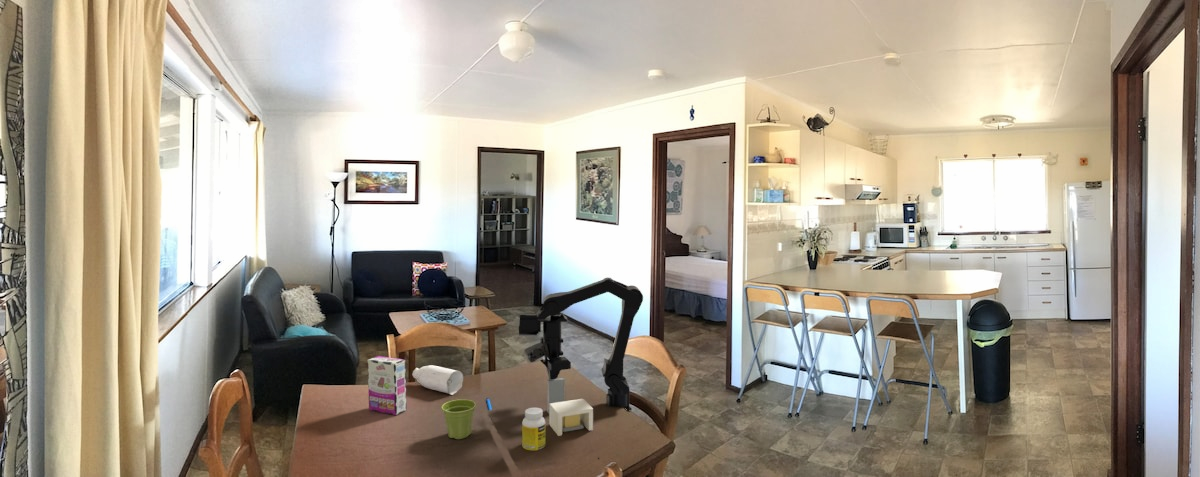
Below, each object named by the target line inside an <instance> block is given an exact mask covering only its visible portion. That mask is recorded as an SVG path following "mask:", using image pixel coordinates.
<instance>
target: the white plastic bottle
mask: <svg viewBox="0 0 1200 477" xmlns="http://www.w3.org/2000/svg"><path fill="white" fill-rule="evenodd" d="M411 375H412V377H413V379H416V381H417V383H419V384H420V385H421V386H422V387H424V388H426V389H429V390H432V391H437V392H440V393H446V394H449V395H452V396H453V395H454V394H456V393H457V392H458V391H459V390H461V389H462V387H463V381H464V374H463V372H462V371H460V370H455V369H451V368H447V367H443V366H437V365H432V364H429V365H425V366H424V365H423V366H421V367H420V368H418V367H415V369H414V370H412V374H411Z"/></svg>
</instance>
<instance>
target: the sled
mask: <svg viewBox="0 0 1200 477" xmlns="http://www.w3.org/2000/svg"><path fill="white" fill-rule="evenodd" d="M565 380H566V379H565V377H557V379H549V378H548V379H547V409H546V410H545V411H546V412H547V413H548V414H549V403H556V402H563V401H565V392H566V391H565V390H566V389H565V387H566V386H565V385H566V384H565V382H566V381H565ZM582 429H583V430H584V425H583V424H582V422H580V426H574V427H568V428H564V427H563V426H562V433H563V432H564V433H566V432H572V431H577V430H582Z"/></svg>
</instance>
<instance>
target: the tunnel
mask: <svg viewBox="0 0 1200 477" xmlns="http://www.w3.org/2000/svg"><path fill="white" fill-rule="evenodd" d="M576 414H580V423H581V424H582V425H583V427H584V428H586V430H588V431H589V432H590V431H594V408H593V407H592V406H591V405H590V403H588V402H587V401H586V400H585V399H584V398H579V399H572V400H564V401H563V402H556V403H549V413H548V415H549V421H548V422H549V426H550V427H551V429H552V430H553V431H554V433H555V434H556V435H557V436H558V437H560V436H563V431H562V417H564V416H570V415H576Z"/></svg>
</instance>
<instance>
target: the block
mask: <svg viewBox="0 0 1200 477" xmlns="http://www.w3.org/2000/svg"><path fill="white" fill-rule="evenodd" d="M580 423H581V421H580V414H576V415H570V416H564V417H562V426H563V427H564V428H568V427H574V426H580Z"/></svg>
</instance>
